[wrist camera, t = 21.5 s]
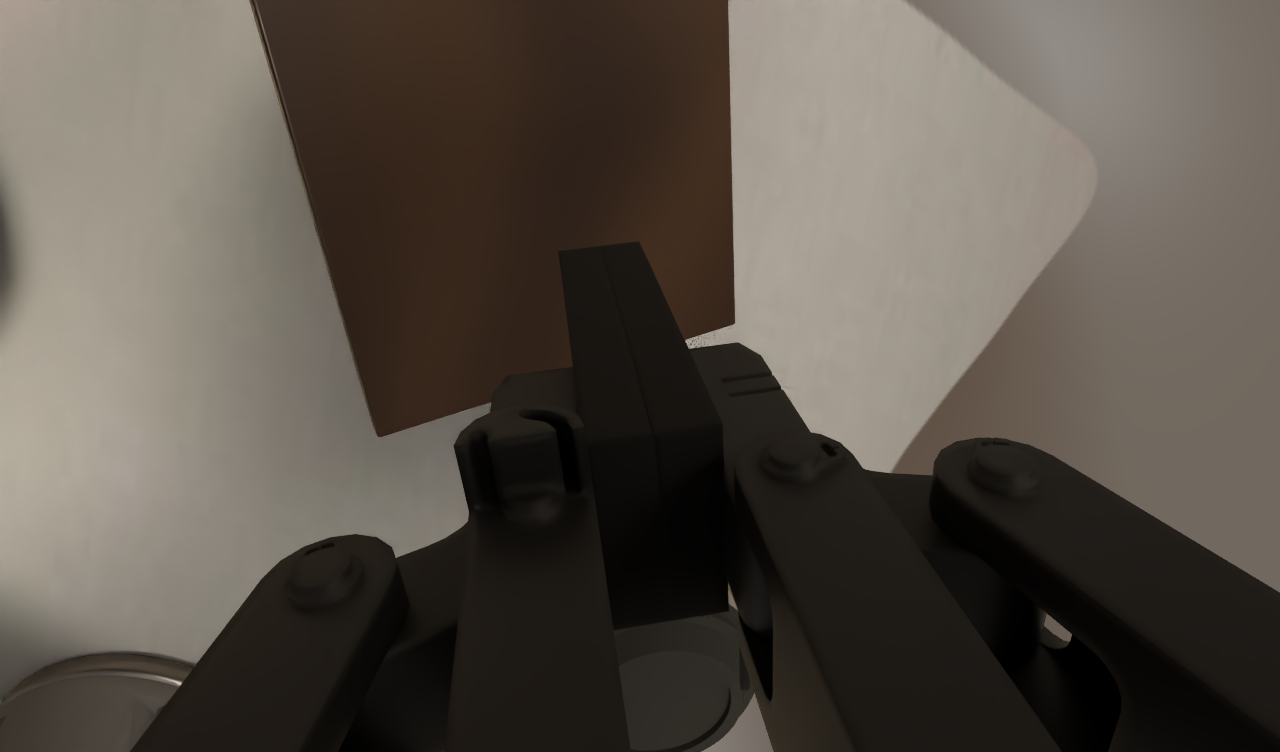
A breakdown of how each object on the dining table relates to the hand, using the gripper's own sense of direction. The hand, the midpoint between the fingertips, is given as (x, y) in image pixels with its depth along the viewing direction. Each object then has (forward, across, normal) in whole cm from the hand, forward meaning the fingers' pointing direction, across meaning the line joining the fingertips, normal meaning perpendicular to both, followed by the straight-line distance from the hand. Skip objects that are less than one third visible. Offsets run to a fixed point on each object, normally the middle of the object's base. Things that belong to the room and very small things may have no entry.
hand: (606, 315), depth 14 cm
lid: (+11, -1, 0) cm, 11 cm away
